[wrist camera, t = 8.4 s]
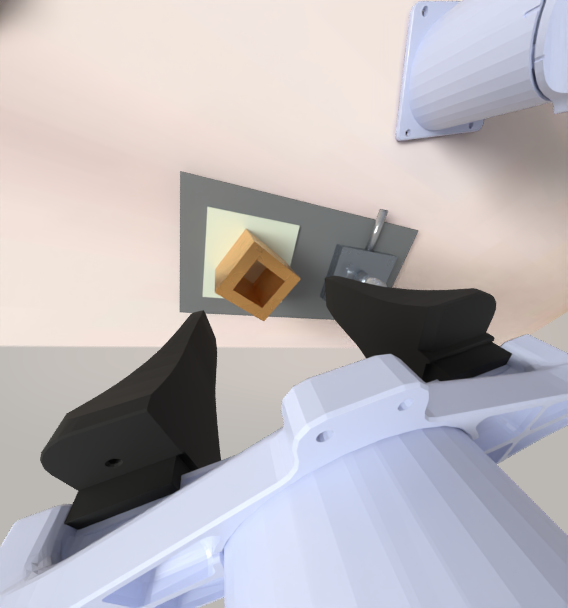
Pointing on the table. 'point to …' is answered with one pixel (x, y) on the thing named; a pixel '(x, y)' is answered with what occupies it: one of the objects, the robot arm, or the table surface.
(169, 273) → the table surface
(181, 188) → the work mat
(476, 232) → the table surface
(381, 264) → the vise
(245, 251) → the collar
